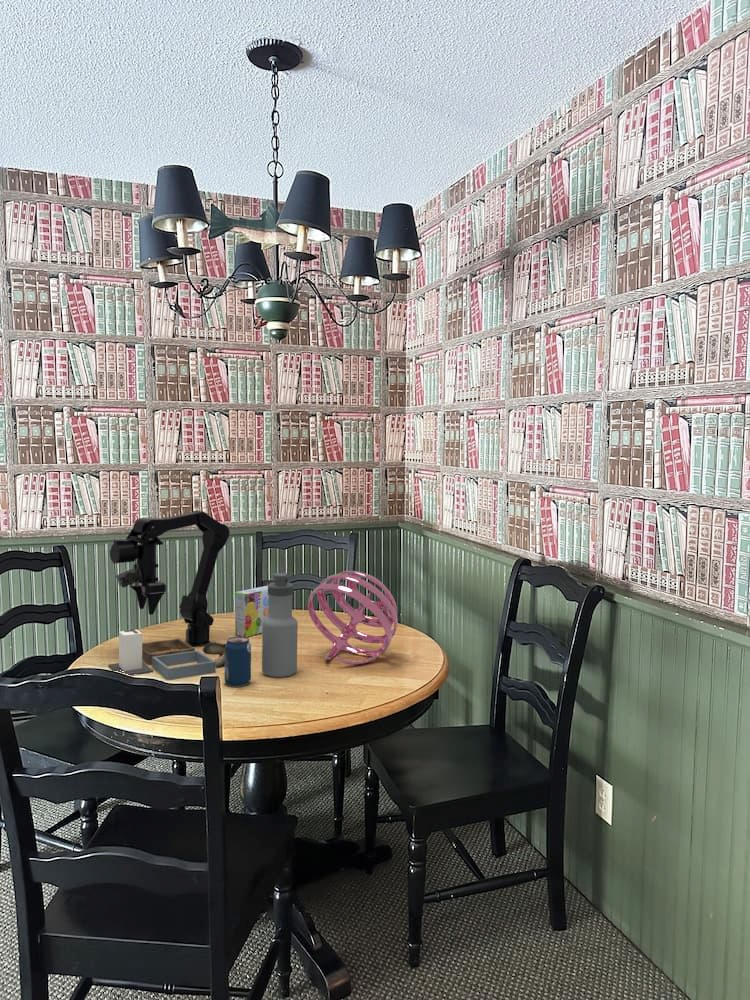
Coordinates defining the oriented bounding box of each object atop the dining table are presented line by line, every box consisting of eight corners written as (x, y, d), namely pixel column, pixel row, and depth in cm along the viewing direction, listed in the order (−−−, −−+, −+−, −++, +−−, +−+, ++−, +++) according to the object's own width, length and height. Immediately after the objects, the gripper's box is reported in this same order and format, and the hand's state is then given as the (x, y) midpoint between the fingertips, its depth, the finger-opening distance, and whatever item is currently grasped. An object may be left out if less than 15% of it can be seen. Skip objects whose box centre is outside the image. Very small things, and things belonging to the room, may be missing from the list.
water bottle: (263, 667, 210) (264, 570, 209) (297, 667, 211) (299, 571, 209) (260, 678, 200) (261, 576, 198) (296, 678, 201) (297, 577, 199)
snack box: (277, 624, 263) (278, 582, 262) (289, 626, 260) (289, 584, 259) (234, 635, 246) (234, 591, 245) (246, 638, 243) (246, 593, 242)
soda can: (255, 681, 197) (256, 637, 196) (241, 689, 191) (241, 643, 190) (234, 678, 200) (234, 634, 199) (219, 685, 193) (219, 640, 193)
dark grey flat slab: (140, 661, 213) (140, 660, 213) (153, 672, 203) (153, 670, 203) (108, 666, 208) (108, 664, 208) (120, 677, 198) (120, 675, 198)
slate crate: (197, 660, 216) (197, 650, 216) (215, 672, 205) (215, 661, 204) (151, 667, 208) (151, 656, 208) (167, 680, 197) (167, 669, 197)
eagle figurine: (219, 653, 219) (197, 654, 212) (231, 635, 218) (209, 636, 210) (232, 671, 215) (210, 673, 208) (245, 653, 214) (222, 654, 206)
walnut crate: (179, 647, 229) (179, 638, 229) (194, 658, 218) (194, 648, 218) (135, 653, 221) (135, 644, 221) (149, 665, 210) (149, 654, 210)
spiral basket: (335, 611, 196) (381, 546, 214) (270, 619, 215) (317, 559, 233) (388, 684, 205) (428, 616, 223) (321, 685, 224) (363, 623, 242)
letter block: (136, 663, 209) (136, 628, 209) (142, 668, 205) (142, 632, 205) (118, 666, 206) (118, 630, 206) (124, 671, 202) (124, 634, 202)
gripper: (110, 558, 223) (110, 608, 224) (128, 566, 207) (128, 620, 208) (146, 555, 229) (146, 605, 230) (166, 563, 214) (166, 616, 215)
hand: (146, 611), depth 220 cm, fingers open, 9 cm apart
